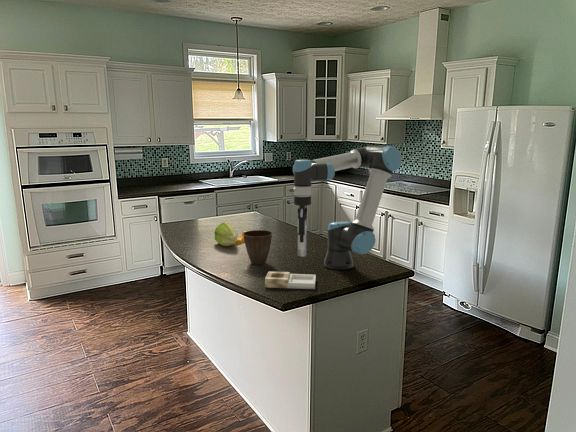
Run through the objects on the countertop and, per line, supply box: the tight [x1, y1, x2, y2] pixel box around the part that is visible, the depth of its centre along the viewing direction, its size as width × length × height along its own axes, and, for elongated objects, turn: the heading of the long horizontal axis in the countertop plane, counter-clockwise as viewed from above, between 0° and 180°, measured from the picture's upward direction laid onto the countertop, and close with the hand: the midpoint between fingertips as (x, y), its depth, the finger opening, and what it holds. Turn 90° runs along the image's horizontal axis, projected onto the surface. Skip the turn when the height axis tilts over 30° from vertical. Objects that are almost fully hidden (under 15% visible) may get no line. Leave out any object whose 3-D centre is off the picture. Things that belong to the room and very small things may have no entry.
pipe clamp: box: [232, 230, 247, 246], centre depth 262 cm, size 12×4×6 cm, turn 135°
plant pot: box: [242, 229, 273, 266], centre depth 222 cm, size 15×15×16 cm
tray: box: [287, 273, 317, 290], centre depth 193 cm, size 12×12×2 cm
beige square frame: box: [264, 271, 291, 289], centre depth 193 cm, size 10×10×4 cm
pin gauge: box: [297, 219, 308, 258], centre depth 189 cm, size 4×4×16 cm
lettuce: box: [214, 222, 239, 247], centre depth 253 cm, size 13×22×14 cm, turn 28°
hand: (302, 247), depth 190 cm, fingers closed on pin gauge, 4 cm apart
